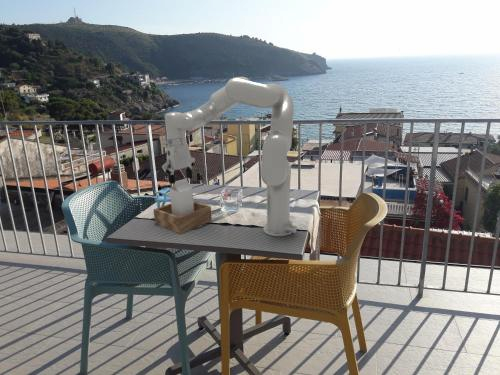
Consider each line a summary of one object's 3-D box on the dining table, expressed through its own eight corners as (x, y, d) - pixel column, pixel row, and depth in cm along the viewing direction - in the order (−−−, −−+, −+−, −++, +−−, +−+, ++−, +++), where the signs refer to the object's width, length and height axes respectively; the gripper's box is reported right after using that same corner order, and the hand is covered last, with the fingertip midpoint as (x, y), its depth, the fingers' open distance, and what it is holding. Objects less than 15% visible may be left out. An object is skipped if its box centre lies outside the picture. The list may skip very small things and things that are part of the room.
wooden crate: (211, 220, 174) (210, 206, 172) (181, 233, 161) (179, 218, 159) (185, 212, 185) (184, 198, 183) (155, 223, 172) (153, 209, 170)
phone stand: (164, 207, 192) (161, 185, 188) (177, 209, 188) (175, 186, 185) (154, 213, 185) (151, 189, 182) (168, 215, 182) (165, 191, 178)
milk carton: (195, 220, 172) (191, 179, 167) (182, 224, 167) (178, 183, 162) (185, 216, 177) (181, 176, 171) (172, 220, 172) (168, 180, 166)
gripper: (165, 146, 153) (170, 186, 158) (197, 139, 166) (201, 177, 171) (154, 144, 158) (159, 184, 163) (186, 138, 170) (190, 175, 175)
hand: (181, 180), depth 167 cm, fingers open, 9 cm apart
